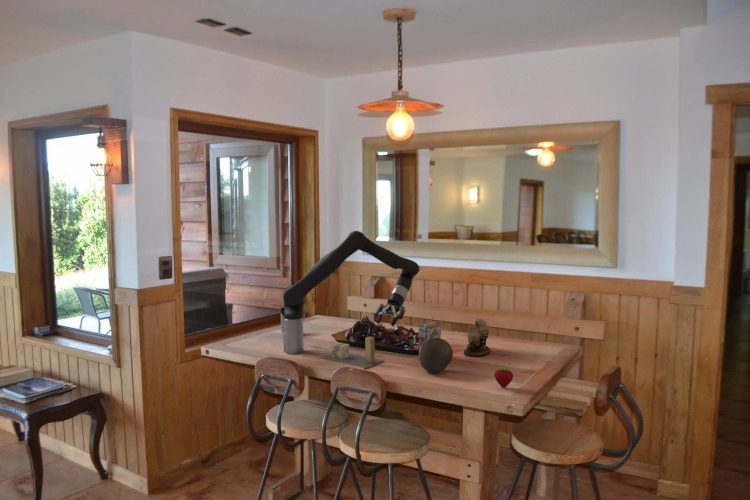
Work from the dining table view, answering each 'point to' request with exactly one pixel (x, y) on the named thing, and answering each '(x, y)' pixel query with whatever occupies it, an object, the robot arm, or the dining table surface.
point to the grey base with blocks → (360, 360)
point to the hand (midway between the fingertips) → (384, 324)
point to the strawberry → (503, 376)
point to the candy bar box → (428, 332)
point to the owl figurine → (477, 340)
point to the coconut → (435, 355)
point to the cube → (340, 350)
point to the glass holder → (283, 321)
